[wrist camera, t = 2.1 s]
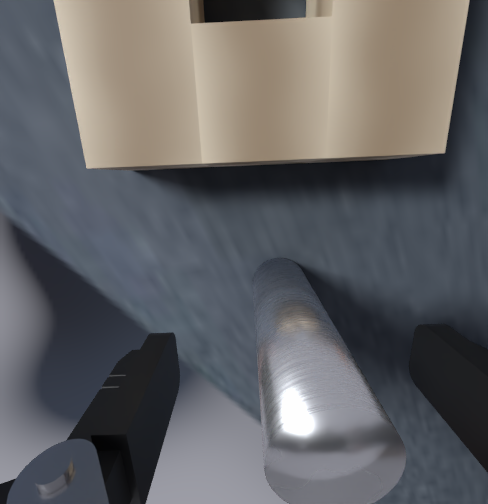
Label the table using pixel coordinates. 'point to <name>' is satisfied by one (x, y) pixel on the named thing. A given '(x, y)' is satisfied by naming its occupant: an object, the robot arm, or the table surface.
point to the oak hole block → (260, 82)
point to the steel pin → (316, 400)
